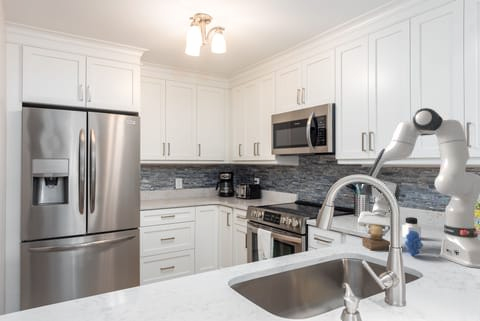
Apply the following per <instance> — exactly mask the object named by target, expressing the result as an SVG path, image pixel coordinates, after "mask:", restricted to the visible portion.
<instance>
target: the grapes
mask: <svg viewBox="0 0 480 321" xmlns="http://www.w3.org/2000/svg"><path fill="white" fill-rule="evenodd" d="M418 236H419V234H418V233H417V232H416V231H413V230H411V231H409V234H407V235H406V238H407V239H406V238H405V239H406V241H404V244H405V246H406V248H405V249H406V251H407V253H409V254H410V256H411V257H415V256H417V255H419V254H420V253H421V252H420V250H421V249H422V247H423V246H424V244H423V243H422V237H421V238H420V237H418Z"/></svg>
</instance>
